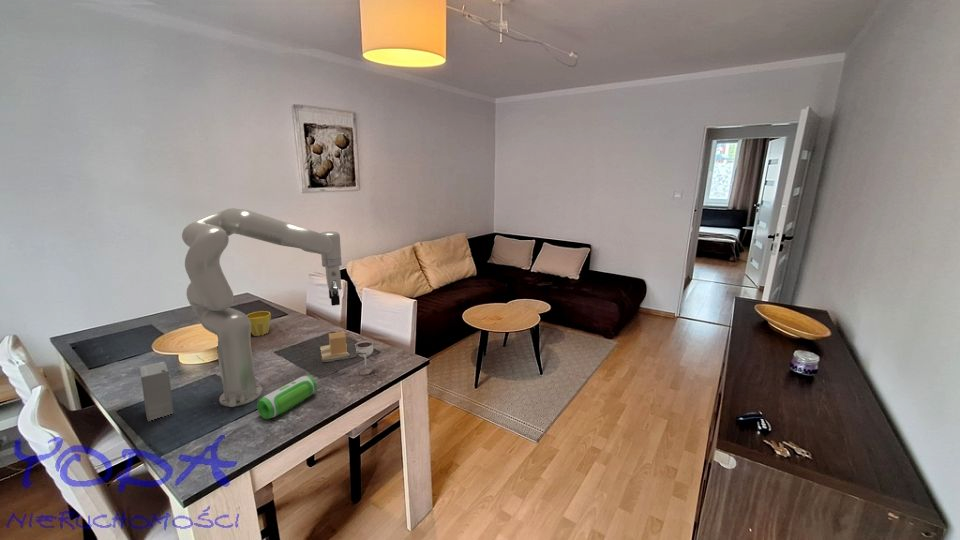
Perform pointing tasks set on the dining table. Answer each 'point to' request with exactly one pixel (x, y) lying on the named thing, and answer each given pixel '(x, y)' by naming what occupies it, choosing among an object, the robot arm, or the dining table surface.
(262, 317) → the plant pot
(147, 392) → the skincare box
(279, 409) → the speaker
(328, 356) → the holder
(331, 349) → the tan block
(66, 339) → the dining table surface
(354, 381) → the dining table surface
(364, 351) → the wineglass
